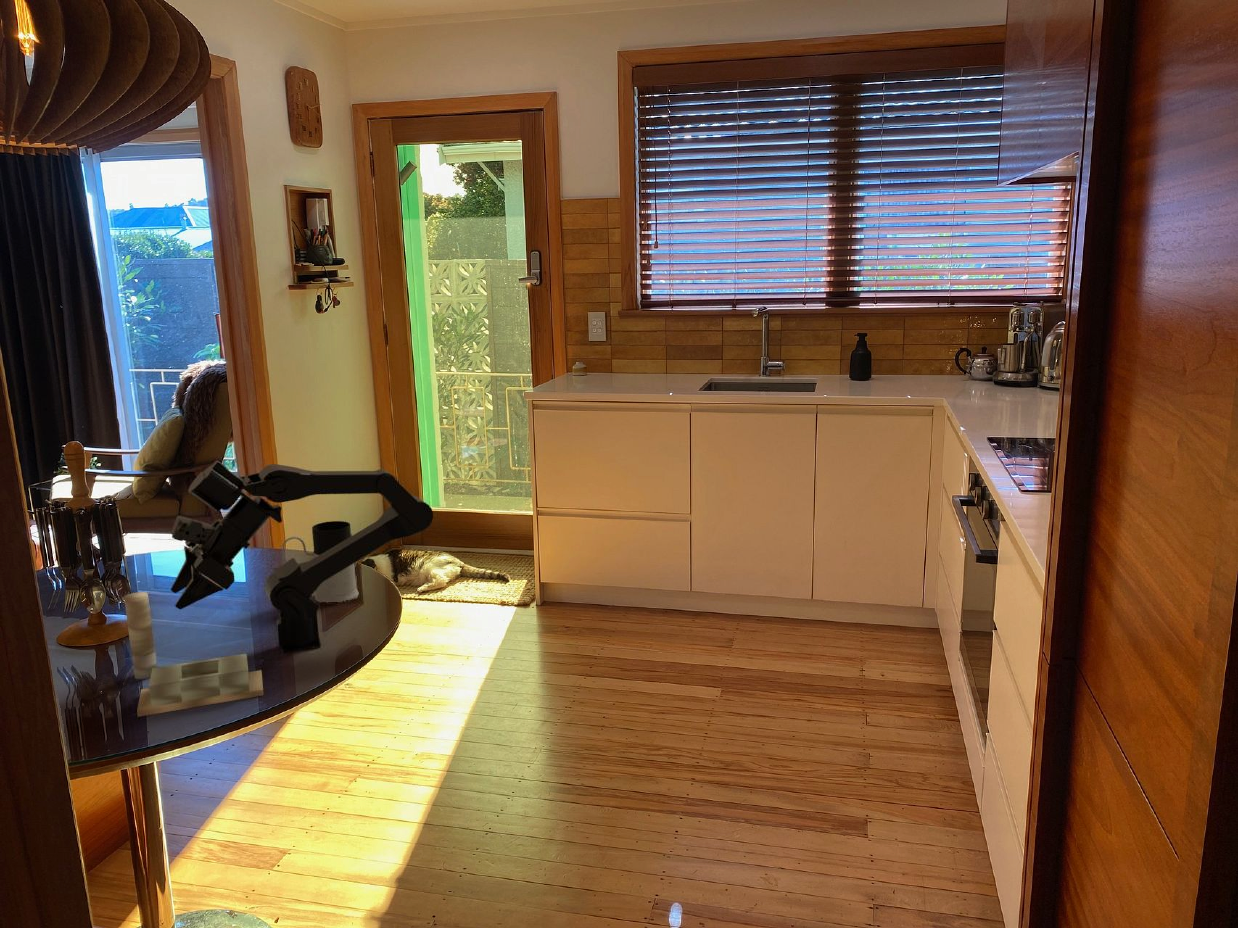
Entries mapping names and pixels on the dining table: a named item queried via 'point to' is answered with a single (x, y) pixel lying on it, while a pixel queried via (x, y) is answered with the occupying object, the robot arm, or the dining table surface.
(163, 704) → the checkered slab
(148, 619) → the beige bar
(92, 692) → the dining table surface
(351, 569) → the glass holder
